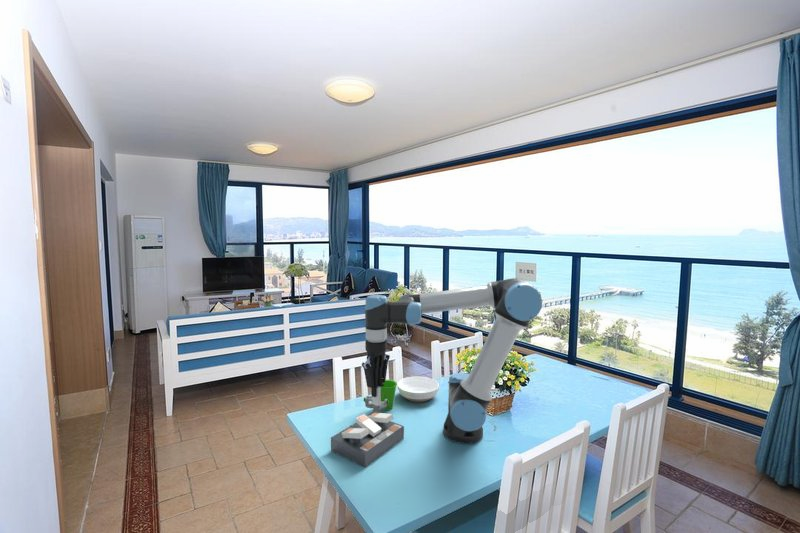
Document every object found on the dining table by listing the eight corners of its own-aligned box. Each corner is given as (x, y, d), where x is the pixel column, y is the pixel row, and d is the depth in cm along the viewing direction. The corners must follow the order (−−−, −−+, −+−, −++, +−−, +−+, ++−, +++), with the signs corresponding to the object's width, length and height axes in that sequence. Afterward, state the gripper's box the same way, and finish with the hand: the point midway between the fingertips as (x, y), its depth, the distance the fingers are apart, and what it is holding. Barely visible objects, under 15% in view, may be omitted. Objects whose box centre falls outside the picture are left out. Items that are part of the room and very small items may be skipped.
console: (403, 438, 146) (403, 423, 146) (365, 467, 129) (365, 449, 128) (371, 425, 156) (371, 411, 155) (330, 451, 138) (330, 434, 137)
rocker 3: (393, 418, 146) (392, 413, 146) (386, 423, 143) (385, 417, 143) (375, 417, 151) (374, 412, 151) (368, 421, 148) (367, 416, 148)
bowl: (393, 404, 175) (393, 391, 174) (400, 386, 194) (401, 375, 194) (437, 407, 172) (437, 394, 171) (440, 389, 191) (440, 377, 190)
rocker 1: (368, 433, 135) (367, 427, 135) (361, 438, 131) (359, 432, 132) (350, 433, 140) (349, 427, 140) (342, 438, 137) (341, 432, 137)
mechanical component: (387, 425, 156) (387, 401, 155) (363, 422, 158) (362, 398, 158) (389, 421, 159) (389, 397, 158) (365, 418, 161) (365, 395, 160)
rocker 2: (380, 432, 141) (381, 427, 140) (373, 436, 138) (374, 432, 137) (362, 417, 146) (363, 413, 145) (355, 422, 142) (356, 417, 142)
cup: (373, 410, 169) (373, 385, 168) (381, 401, 177) (381, 378, 176) (392, 414, 166) (392, 389, 165) (400, 405, 174) (400, 381, 173)
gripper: (379, 333, 144) (379, 395, 146) (355, 342, 133) (356, 408, 136) (395, 337, 139) (395, 400, 142) (372, 345, 129) (372, 414, 131)
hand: (376, 404), depth 139 cm, fingers closed
